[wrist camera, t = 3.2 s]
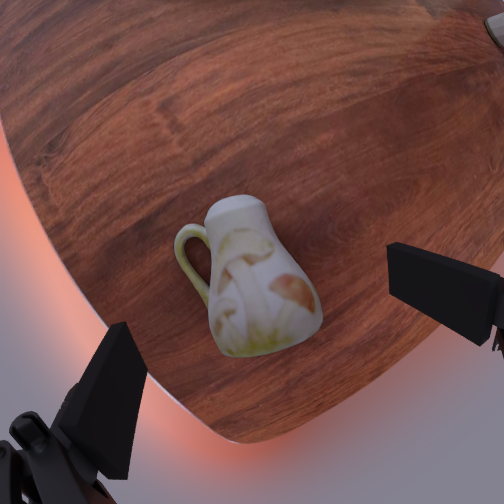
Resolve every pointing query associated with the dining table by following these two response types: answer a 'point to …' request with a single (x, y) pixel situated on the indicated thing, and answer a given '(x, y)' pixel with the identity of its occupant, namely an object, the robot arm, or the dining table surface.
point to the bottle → (496, 28)
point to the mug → (250, 281)
